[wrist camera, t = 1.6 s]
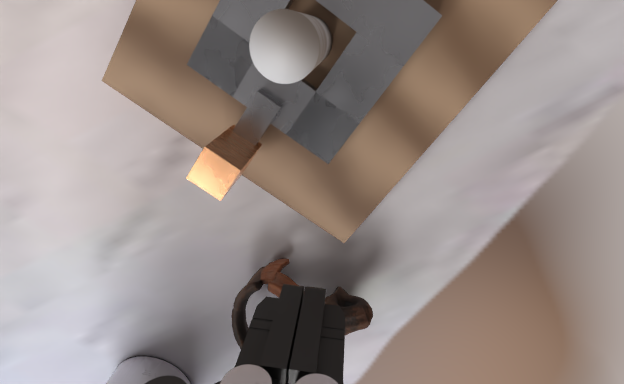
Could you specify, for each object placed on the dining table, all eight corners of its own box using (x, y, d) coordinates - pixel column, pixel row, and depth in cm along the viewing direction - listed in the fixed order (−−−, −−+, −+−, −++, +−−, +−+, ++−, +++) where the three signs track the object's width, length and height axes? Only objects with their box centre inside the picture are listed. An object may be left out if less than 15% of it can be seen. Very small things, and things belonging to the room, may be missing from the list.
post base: (344, 231, 33) (338, 332, 22) (117, 77, 30) (-22, 105, 19) (549, -6, 25) (702, -33, 14) (264, -253, 22) (169, -542, 11)
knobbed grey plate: (299, 198, 30) (284, 242, 24) (168, 110, 28) (116, 132, 22) (438, 16, 24) (466, 11, 18) (284, -109, 22) (256, -162, 16)
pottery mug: (291, 349, 40) (237, 387, 33) (268, 259, 41) (212, 277, 34) (400, 339, 34) (364, 382, 27) (370, 234, 35) (328, 250, 28)
